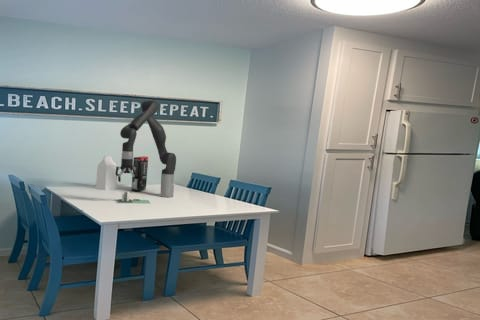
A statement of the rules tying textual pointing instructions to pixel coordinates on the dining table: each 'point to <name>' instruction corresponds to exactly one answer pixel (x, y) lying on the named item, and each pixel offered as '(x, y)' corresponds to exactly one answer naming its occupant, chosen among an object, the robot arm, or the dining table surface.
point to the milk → (106, 174)
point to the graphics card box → (140, 173)
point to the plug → (125, 196)
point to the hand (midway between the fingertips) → (126, 182)
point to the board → (133, 201)
